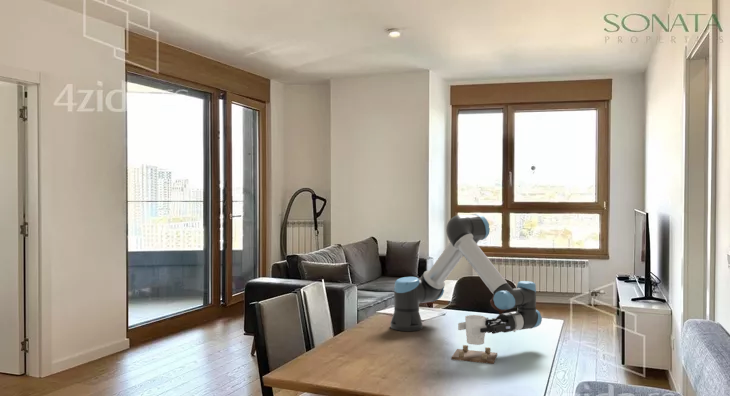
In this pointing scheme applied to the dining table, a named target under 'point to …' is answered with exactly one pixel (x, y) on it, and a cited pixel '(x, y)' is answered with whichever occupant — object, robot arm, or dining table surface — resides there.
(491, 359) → the holder
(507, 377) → the dining table surface
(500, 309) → the ice cream bowl
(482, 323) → the white cup
